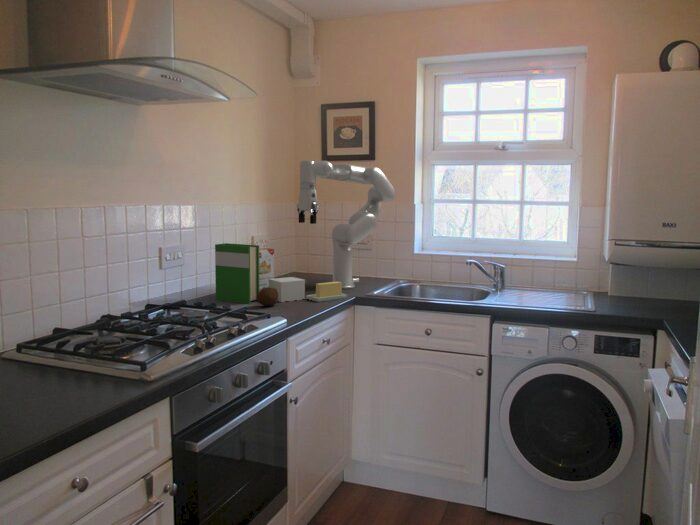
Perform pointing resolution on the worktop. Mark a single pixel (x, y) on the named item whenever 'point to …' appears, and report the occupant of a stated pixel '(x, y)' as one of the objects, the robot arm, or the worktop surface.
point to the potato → (268, 296)
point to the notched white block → (288, 288)
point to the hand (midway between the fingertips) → (307, 223)
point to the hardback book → (237, 272)
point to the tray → (326, 298)
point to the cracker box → (265, 267)
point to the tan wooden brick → (328, 289)
